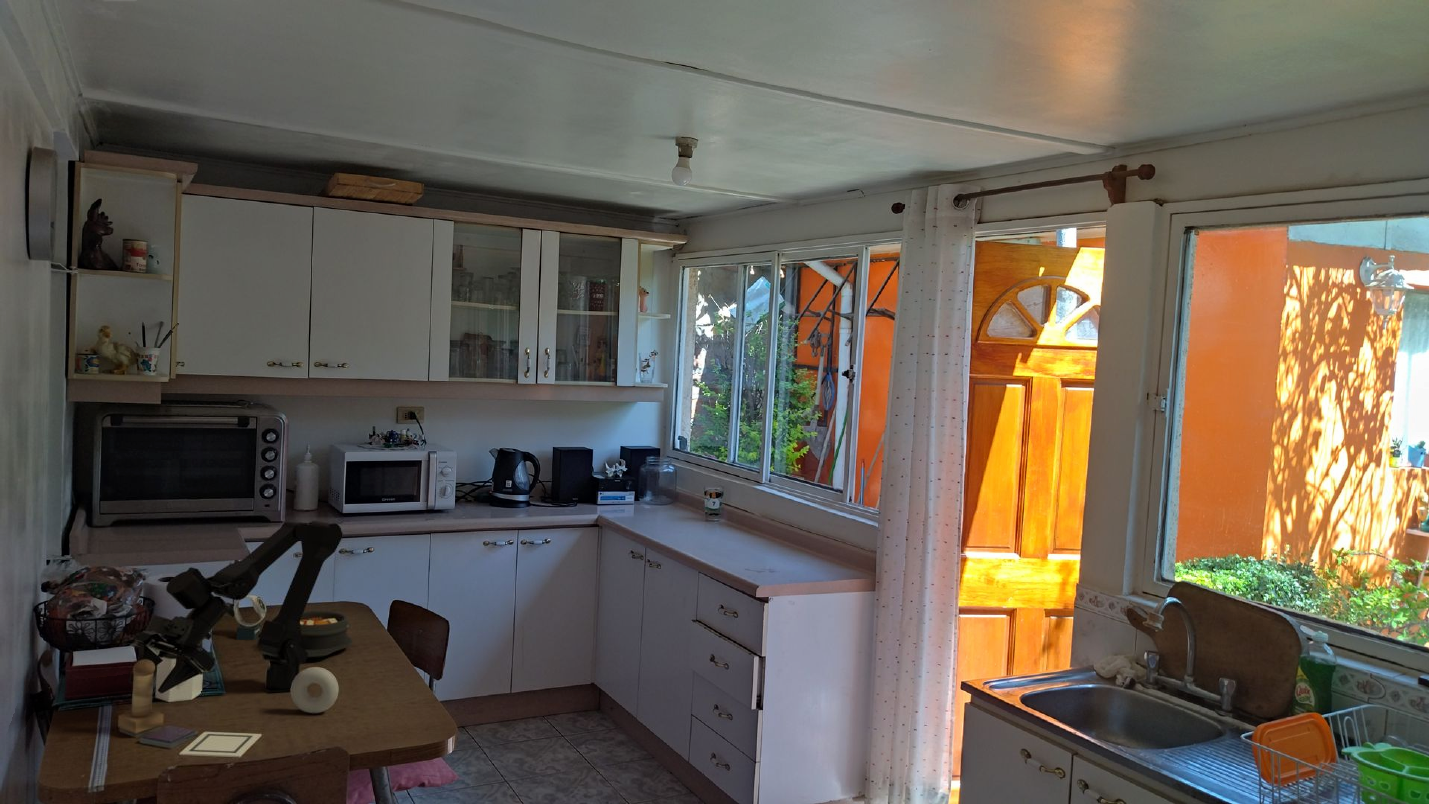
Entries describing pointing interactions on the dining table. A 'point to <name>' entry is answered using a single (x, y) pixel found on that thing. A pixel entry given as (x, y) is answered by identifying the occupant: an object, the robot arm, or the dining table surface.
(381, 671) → the dining table surface
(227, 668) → the dining table surface
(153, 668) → the stamp
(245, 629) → the watch
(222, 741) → the print card
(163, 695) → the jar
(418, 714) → the dining table surface
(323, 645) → the casserole
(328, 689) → the donut
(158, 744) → the ink pad
